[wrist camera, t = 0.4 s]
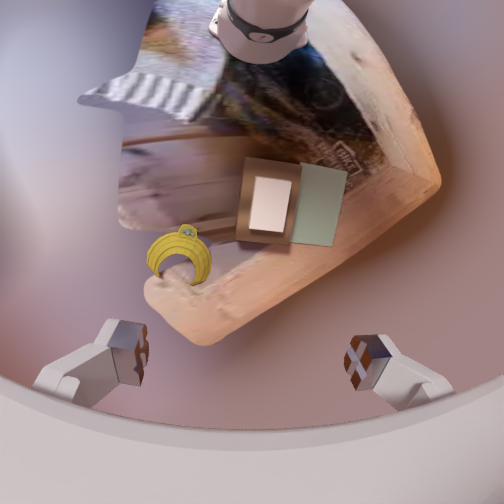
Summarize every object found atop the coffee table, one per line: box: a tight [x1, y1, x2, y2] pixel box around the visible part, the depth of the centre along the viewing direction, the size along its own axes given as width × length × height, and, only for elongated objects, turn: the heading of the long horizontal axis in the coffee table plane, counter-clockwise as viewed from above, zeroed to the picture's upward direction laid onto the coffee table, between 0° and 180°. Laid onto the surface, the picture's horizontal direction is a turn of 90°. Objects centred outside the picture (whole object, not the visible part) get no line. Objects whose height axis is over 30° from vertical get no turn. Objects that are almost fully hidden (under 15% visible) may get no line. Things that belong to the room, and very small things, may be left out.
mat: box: [289, 162, 348, 247], centre depth 54 cm, size 16×10×1 cm, turn 172°
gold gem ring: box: [147, 225, 212, 285], centre depth 54 cm, size 13×13×4 cm
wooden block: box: [234, 156, 303, 245], centre depth 50 cm, size 15×10×4 cm, turn 172°
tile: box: [248, 176, 292, 232], centre depth 48 cm, size 9×6×2 cm, turn 172°
